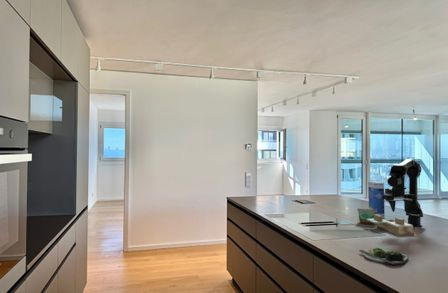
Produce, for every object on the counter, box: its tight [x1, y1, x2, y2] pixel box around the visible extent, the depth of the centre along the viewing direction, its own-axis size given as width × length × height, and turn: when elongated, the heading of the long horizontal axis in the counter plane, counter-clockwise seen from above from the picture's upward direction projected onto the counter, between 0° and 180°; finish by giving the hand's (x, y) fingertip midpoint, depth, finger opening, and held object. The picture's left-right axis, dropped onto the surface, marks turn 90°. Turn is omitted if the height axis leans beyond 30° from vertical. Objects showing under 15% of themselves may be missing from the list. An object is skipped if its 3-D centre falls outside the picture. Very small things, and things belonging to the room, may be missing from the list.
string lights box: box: [367, 180, 386, 219], centre depth 227 cm, size 13×8×26 cm, turn 171°
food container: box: [356, 207, 377, 226], centre depth 204 cm, size 12×6×10 cm, turn 62°
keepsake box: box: [376, 218, 415, 236], centre depth 187 cm, size 10×20×4 cm, turn 6°
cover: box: [366, 214, 390, 224], centre depth 191 cm, size 10×9×4 cm
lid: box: [387, 217, 413, 227], centre depth 182 cm, size 10×9×4 cm
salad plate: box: [358, 246, 409, 266], centre depth 139 cm, size 19×18×5 cm
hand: (399, 211), depth 182 cm, fingers open, 7 cm apart
